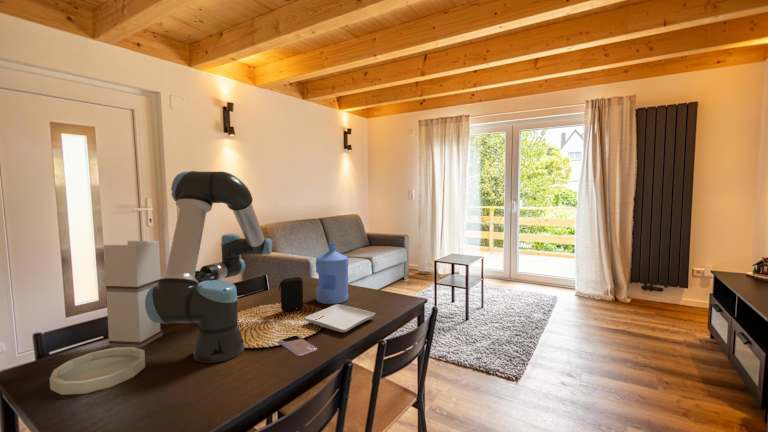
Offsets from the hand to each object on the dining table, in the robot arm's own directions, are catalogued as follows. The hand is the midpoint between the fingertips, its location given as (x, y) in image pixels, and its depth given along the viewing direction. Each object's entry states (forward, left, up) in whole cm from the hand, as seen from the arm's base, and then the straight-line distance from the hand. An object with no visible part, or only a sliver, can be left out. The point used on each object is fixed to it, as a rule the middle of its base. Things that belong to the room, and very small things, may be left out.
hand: (164, 284), depth 133 cm
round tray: (-14, +29, -17) cm, 36 cm away
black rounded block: (-29, -37, -18) cm, 50 cm away
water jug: (-37, -58, -18) cm, 71 cm away
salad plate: (-56, -35, -18) cm, 69 cm away
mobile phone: (-54, -10, -18) cm, 58 cm away
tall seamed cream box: (0, +11, -18) cm, 21 cm away
